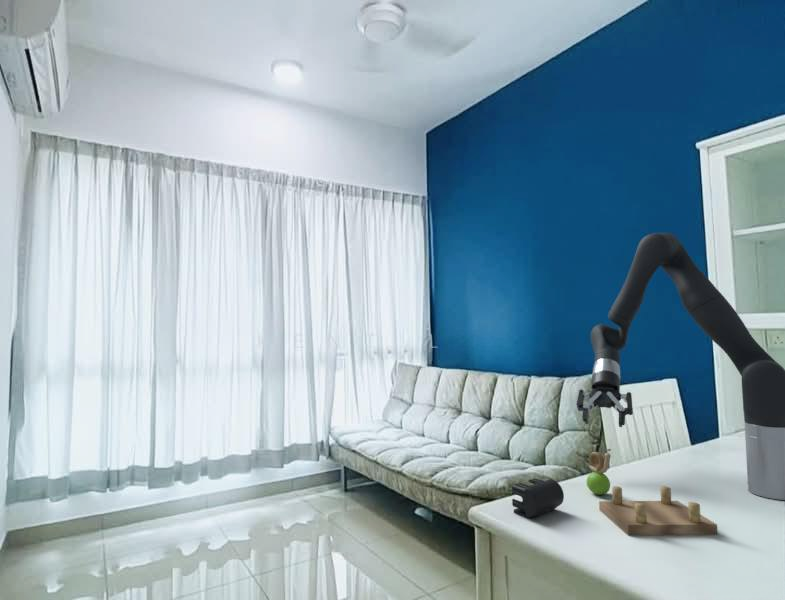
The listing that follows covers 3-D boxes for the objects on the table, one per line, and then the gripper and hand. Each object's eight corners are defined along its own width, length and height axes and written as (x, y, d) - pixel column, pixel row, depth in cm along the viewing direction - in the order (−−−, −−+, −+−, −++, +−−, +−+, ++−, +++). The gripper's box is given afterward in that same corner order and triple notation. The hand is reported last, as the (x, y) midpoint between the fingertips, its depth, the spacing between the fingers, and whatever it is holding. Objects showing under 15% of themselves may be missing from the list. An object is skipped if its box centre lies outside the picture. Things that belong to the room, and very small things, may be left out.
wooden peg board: (678, 509, 107) (676, 485, 107) (717, 534, 94) (716, 506, 94) (599, 510, 107) (598, 485, 107) (628, 535, 94) (626, 507, 94)
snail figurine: (604, 500, 112) (602, 450, 113) (582, 492, 118) (580, 444, 119) (619, 497, 115) (617, 447, 116) (596, 489, 121) (595, 442, 121)
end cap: (537, 523, 100) (536, 491, 100) (511, 513, 105) (510, 482, 106) (564, 512, 106) (563, 482, 106) (538, 503, 111) (537, 474, 112)
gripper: (578, 368, 139) (573, 413, 129) (632, 370, 132) (631, 418, 122) (582, 384, 144) (577, 429, 133) (633, 387, 137) (633, 434, 126)
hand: (603, 423), depth 127 cm, fingers open, 8 cm apart
